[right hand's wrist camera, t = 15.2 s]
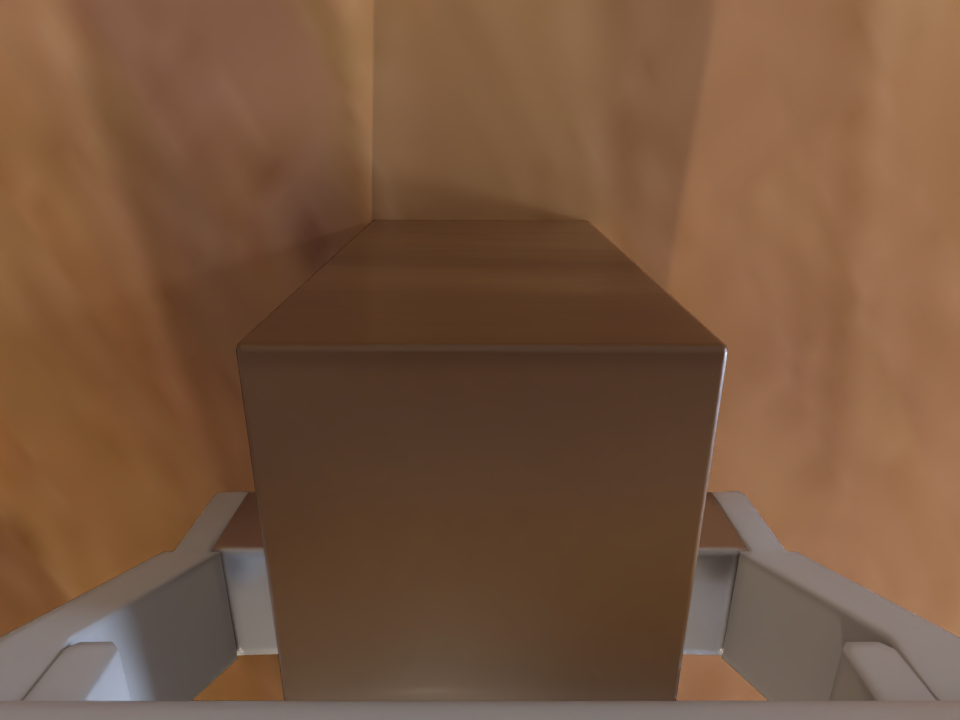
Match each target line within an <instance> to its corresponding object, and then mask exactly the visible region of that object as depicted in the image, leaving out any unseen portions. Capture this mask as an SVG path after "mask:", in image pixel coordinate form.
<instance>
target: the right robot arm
mask: <svg viewBox="0 0 960 720" xmlns="http://www.w3.org/2000/svg"><path fill="white" fill-rule="evenodd" d="M261 654H278V650H277V642H276V635H275V628H274V621H273V613H272V606H271V599H270V592H269V584H268V577H267V570H266V563H265V556H264V548H263V541H262V534H261V527H260V519H259V512H258V505H257V498H256V492H249V491H238V492H220V493H216V494H215V495H214V496H213V498H212V499H211V500H210V502H209V503H208V505H207V506H206V507H205V509H204V510H203V511H202V513H201V514H200V516H199V517H198V518H197V520H196V521H195V522H194V524H193V525H192V527H191V528H190V529H189V531H188V532H187V534H186V535H185V536H184V538H183V539H182V540H181V542H180V543H179V545H178V546H177V547H176V549H175V550H174V551H173V552H162V553H160V554H158V555H156V556H154V557H152V558H151V559H149V560H147V561H145V562H143V563H141V564H139V565H137V566H135V567H133V568H131V569H130V570H128V571H126V572H124V573H122V574H120V575H118V576H116V577H114V578H112V579H111V580H109V581H107V582H105V583H103V584H101V585H99V586H97V587H95V588H93V589H92V590H90V591H88V592H86V593H84V594H82V595H80V596H78V597H76V598H74V599H72V600H71V601H69V602H67V603H65V604H63V605H61V606H59V607H57V608H55V609H53V610H52V611H50V612H48V613H46V614H44V615H42V616H40V617H38V618H36V619H34V620H33V621H31V622H29V623H27V624H25V625H23V626H21V627H19V628H17V629H15V630H13V631H12V632H10V633H8V634H6V635H4V636H2V637H0V720H960V638H959V637H957V636H955V635H954V634H952V633H950V632H948V631H946V630H944V629H942V628H940V627H938V626H936V625H935V624H933V623H931V622H929V621H927V620H925V619H923V618H921V617H919V616H917V615H916V614H914V613H912V612H910V611H908V610H906V609H904V608H902V607H900V606H898V605H897V604H895V603H893V602H891V601H889V600H887V599H885V598H883V597H881V596H880V595H878V594H876V593H874V592H872V591H870V590H868V589H866V588H864V587H862V586H861V585H859V584H857V583H855V582H853V581H851V580H849V579H847V578H845V577H843V576H842V575H840V574H838V573H836V572H834V571H832V570H830V569H828V568H826V567H825V566H823V565H821V564H819V563H817V562H815V561H813V560H811V559H809V558H807V557H806V556H804V555H802V554H800V553H798V552H786V550H785V549H784V547H783V546H782V545H781V543H780V542H779V541H778V539H777V538H776V537H775V535H774V534H773V532H772V531H771V530H770V528H769V527H768V526H767V524H766V523H765V522H764V520H763V519H762V517H761V516H760V515H759V513H758V512H757V511H756V509H755V508H754V507H753V505H752V504H751V502H750V501H749V500H748V498H747V497H746V496H745V494H743V493H741V492H739V491H727V492H707V495H706V502H705V508H704V515H703V522H702V528H701V535H700V542H699V549H698V555H697V562H696V569H695V576H694V582H693V589H692V596H691V602H690V609H689V616H688V623H687V629H686V636H685V643H684V650H683V654H698V655H722V658H723V659H724V660H725V661H726V662H727V663H728V664H729V665H730V666H731V667H732V668H733V669H735V670H736V671H737V672H738V673H739V674H740V675H741V676H742V677H743V678H744V679H745V680H747V681H748V682H749V683H750V684H751V685H752V686H753V687H754V688H755V689H756V690H757V691H758V692H760V693H761V694H762V695H763V696H764V697H765V698H766V699H767V700H768V701H192V700H193V699H194V698H195V697H196V696H197V695H198V694H200V693H201V692H202V691H203V690H204V689H205V688H206V687H207V686H208V685H209V684H210V683H212V682H213V681H214V680H215V679H216V678H217V677H218V676H219V675H220V674H221V673H222V672H223V671H225V670H226V669H227V668H228V667H229V666H230V665H231V664H232V663H233V662H234V661H235V660H237V659H238V656H237V655H261Z"/></svg>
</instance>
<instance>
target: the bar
mask: <svg viewBox="0 0 960 720" xmlns="http://www.w3.org/2000/svg"><path fill="white" fill-rule="evenodd" d="M236 353H237V360H238V367H239V375H240V382H241V389H242V396H243V404H244V411H245V418H246V425H247V432H248V440H249V447H250V454H251V461H252V469H253V476H254V483H255V490H256V498H257V505H258V512H259V519H260V527H261V534H262V541H263V548H264V556H265V563H266V570H267V577H268V584H269V592H270V599H271V606H272V613H273V621H274V628H275V635H276V642H277V650H278V657H279V664H280V671H281V679H282V686H283V693H284V700H285V701H676V697H677V690H678V683H679V676H680V670H681V663H682V656H683V650H684V643H685V636H686V629H687V623H688V616H689V609H690V602H691V596H692V589H693V582H694V576H695V569H696V562H697V555H698V549H699V542H700V535H701V528H702V522H703V515H704V508H705V502H706V495H707V488H708V481H709V475H710V468H711V461H712V455H713V448H714V441H715V434H716V428H717V421H718V414H719V407H720V401H721V394H722V387H723V381H724V374H725V367H726V360H727V354H728V350H727V346H726V345H725V344H724V343H723V342H722V341H721V340H720V339H719V338H717V337H716V336H715V335H714V334H713V333H712V332H711V331H710V330H709V329H707V328H706V327H705V326H704V325H703V324H702V323H701V322H700V321H699V320H697V319H696V318H695V317H694V316H693V315H692V314H691V313H690V312H689V311H687V310H686V309H685V308H684V307H683V306H682V305H681V304H680V303H679V302H677V301H676V300H675V299H674V298H673V297H672V296H671V295H670V294H669V293H667V292H666V291H665V290H664V289H663V288H662V287H661V286H660V285H659V284H657V283H656V282H655V281H654V280H653V279H652V278H651V277H650V276H649V275H647V274H646V273H645V272H644V271H643V270H642V269H641V268H640V267H639V266H637V265H636V264H635V263H634V262H633V261H632V260H631V259H630V258H629V257H627V256H626V255H625V254H624V253H623V252H622V251H621V250H620V249H619V248H617V247H616V246H615V245H614V244H613V243H612V242H611V241H610V240H609V239H607V238H606V237H605V236H604V235H603V234H602V233H601V232H600V231H599V230H597V229H596V228H595V227H594V226H593V225H592V224H591V223H590V222H588V221H544V220H374V221H372V222H371V223H370V224H369V225H367V226H366V227H365V228H364V229H363V230H362V231H361V232H360V233H359V234H358V235H356V236H355V237H354V238H353V239H352V240H351V241H350V242H349V243H348V244H347V245H345V246H344V247H343V248H342V249H341V250H340V251H339V252H338V253H337V254H336V255H335V256H333V257H332V258H331V259H330V260H329V261H328V262H327V263H326V264H325V265H324V266H322V267H321V268H320V269H319V270H318V271H317V272H316V273H315V274H314V275H313V276H311V277H310V278H309V279H308V280H307V281H306V282H305V283H304V284H303V285H302V286H301V287H299V288H298V289H297V290H296V291H295V292H294V293H293V294H292V295H291V296H290V297H288V298H287V299H286V300H285V301H284V302H283V303H282V304H281V305H280V306H279V307H277V308H276V309H275V310H274V311H273V312H272V313H271V314H270V315H269V316H268V317H266V318H265V319H264V320H263V321H262V322H261V323H260V324H259V325H258V326H257V327H256V328H254V329H253V330H252V331H251V332H250V333H249V334H248V335H247V336H246V337H245V338H243V339H242V340H241V341H240V342H239V343H238V344H237V348H236Z"/></svg>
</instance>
